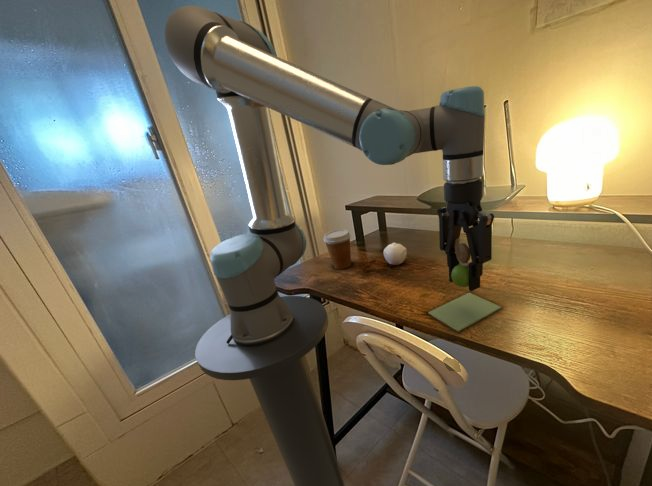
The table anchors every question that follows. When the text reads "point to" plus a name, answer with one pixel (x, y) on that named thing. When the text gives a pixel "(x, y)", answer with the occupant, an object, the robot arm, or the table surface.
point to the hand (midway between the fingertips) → (464, 283)
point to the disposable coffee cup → (339, 248)
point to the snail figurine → (461, 265)
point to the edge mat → (464, 311)
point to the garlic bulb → (395, 253)
